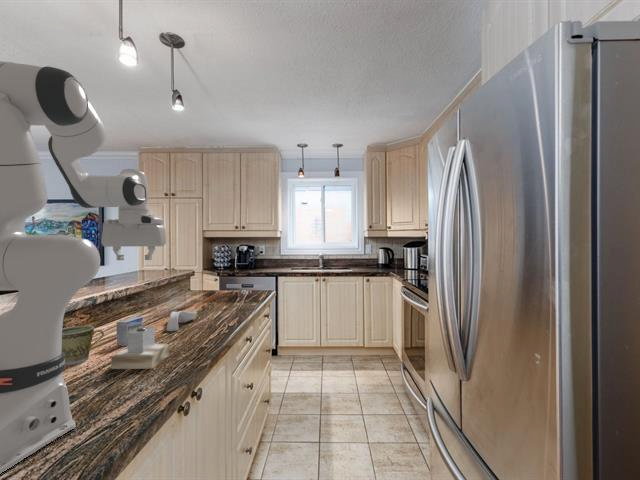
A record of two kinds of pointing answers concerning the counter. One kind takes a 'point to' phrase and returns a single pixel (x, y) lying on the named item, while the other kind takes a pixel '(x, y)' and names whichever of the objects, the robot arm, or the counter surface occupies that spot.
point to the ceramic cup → (77, 343)
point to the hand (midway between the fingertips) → (134, 260)
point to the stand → (140, 358)
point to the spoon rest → (179, 319)
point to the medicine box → (127, 329)
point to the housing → (141, 339)
